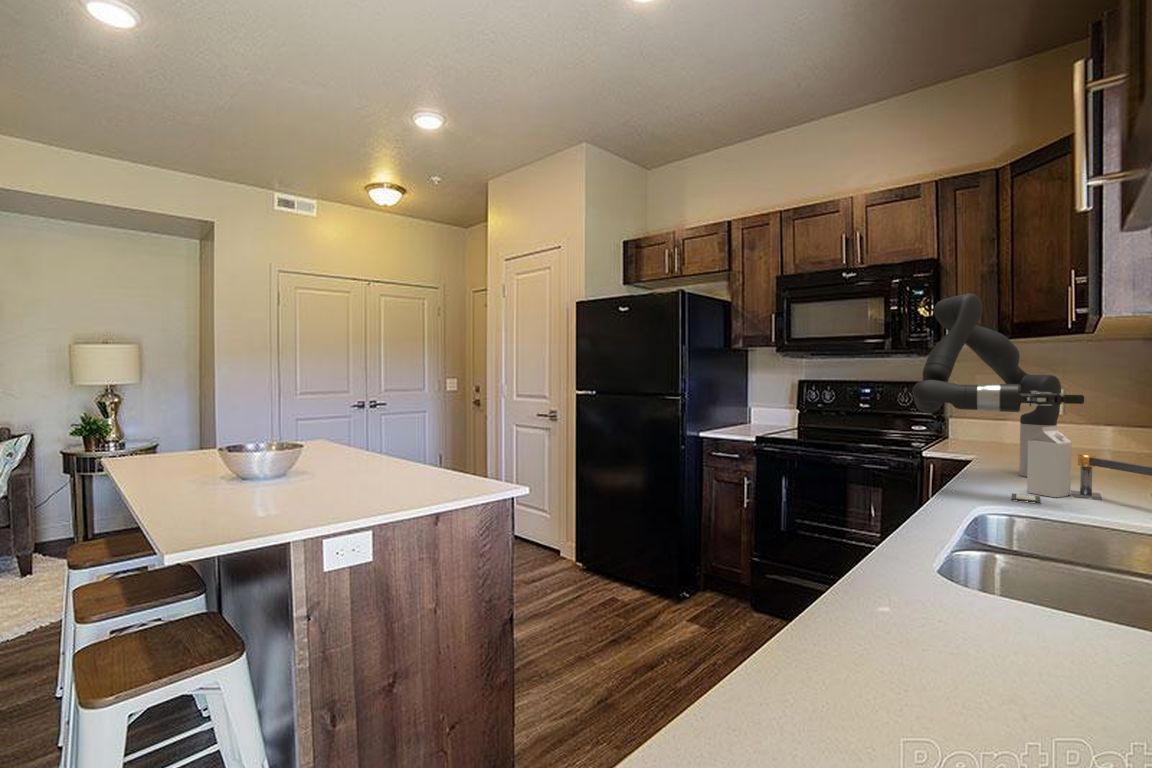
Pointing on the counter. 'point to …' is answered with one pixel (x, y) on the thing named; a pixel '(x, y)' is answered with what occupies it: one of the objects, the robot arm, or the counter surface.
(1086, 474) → the pivot post
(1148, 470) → the swing arm
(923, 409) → the robot arm
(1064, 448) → the milk carton
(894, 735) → the counter surface
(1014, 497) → the label plate
